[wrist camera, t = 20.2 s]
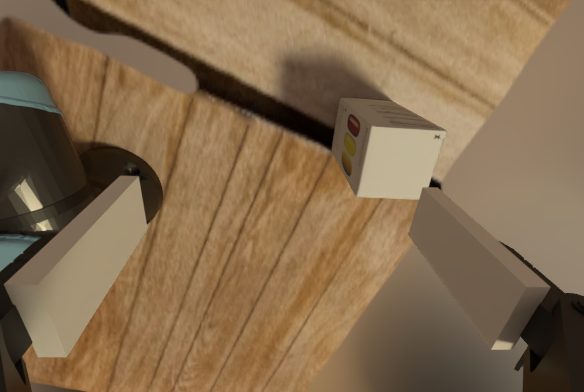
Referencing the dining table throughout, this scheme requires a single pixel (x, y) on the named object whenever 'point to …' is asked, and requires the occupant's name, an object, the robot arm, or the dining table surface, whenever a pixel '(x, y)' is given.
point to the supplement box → (385, 148)
